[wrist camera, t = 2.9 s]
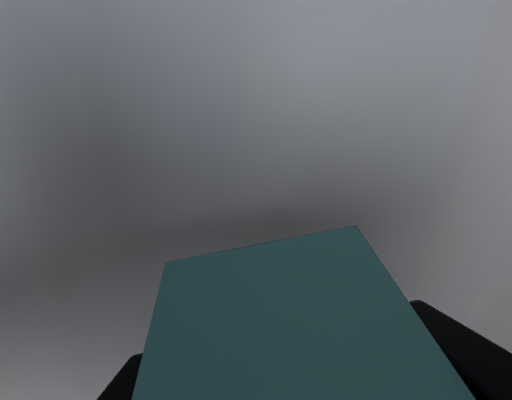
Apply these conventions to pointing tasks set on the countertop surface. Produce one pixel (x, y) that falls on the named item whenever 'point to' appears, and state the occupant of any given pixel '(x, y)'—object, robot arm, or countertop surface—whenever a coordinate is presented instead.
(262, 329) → the tile
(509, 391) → the robot arm
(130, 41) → the countertop surface
